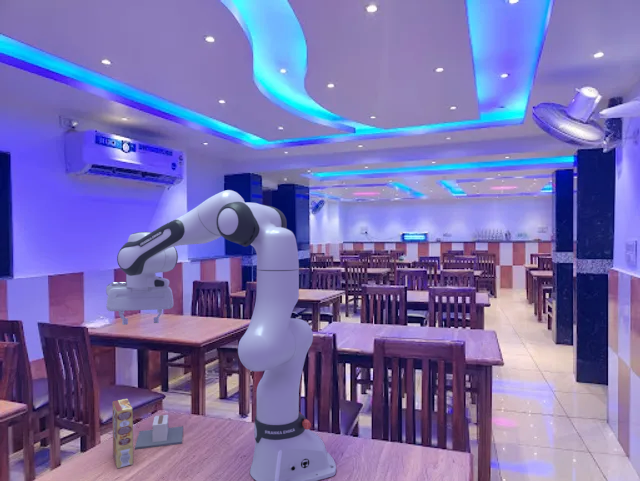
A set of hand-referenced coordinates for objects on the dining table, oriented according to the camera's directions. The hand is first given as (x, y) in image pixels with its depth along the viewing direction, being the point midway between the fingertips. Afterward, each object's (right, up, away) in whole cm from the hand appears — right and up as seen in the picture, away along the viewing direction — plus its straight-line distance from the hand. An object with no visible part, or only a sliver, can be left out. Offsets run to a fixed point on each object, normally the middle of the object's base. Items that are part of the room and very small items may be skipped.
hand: (140, 323), depth 140 cm
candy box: (+4, -33, -23) cm, 41 cm away
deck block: (+10, -33, -10) cm, 35 cm away
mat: (+10, -33, -10) cm, 36 cm away
